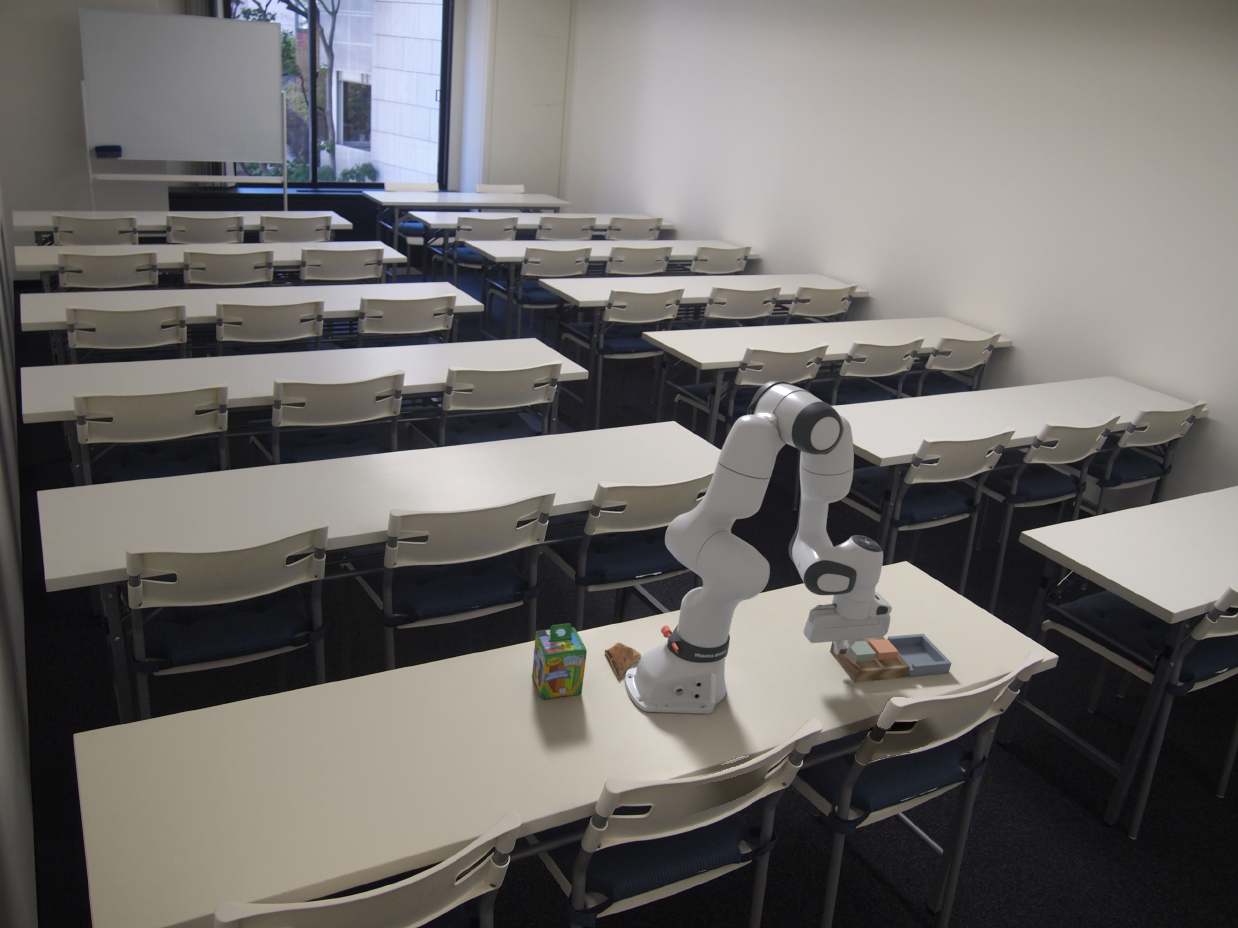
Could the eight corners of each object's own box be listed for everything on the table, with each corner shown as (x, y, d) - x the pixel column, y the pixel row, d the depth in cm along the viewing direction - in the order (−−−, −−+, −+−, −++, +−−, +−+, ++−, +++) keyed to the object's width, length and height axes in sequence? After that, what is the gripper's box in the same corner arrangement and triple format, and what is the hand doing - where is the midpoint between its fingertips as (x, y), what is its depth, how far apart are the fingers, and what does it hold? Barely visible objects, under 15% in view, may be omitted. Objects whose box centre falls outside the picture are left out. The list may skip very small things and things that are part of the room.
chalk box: (541, 700, 193) (546, 642, 187) (530, 674, 201) (535, 617, 195) (583, 694, 196) (589, 637, 190) (570, 668, 204) (576, 612, 198)
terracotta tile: (877, 659, 214) (879, 652, 213) (867, 647, 219) (869, 640, 218) (896, 658, 216) (898, 651, 215) (885, 645, 220) (887, 638, 219)
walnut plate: (854, 682, 210) (857, 671, 209) (829, 651, 221) (832, 641, 220) (907, 677, 214) (910, 666, 213) (880, 647, 225) (883, 636, 224)
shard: (618, 681, 202) (619, 675, 202) (589, 668, 206) (589, 661, 205) (641, 658, 211) (642, 652, 210) (613, 646, 214) (614, 639, 214)
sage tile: (855, 662, 213) (857, 654, 212) (844, 649, 217) (846, 642, 216) (874, 660, 214) (876, 653, 213) (863, 647, 218) (865, 640, 218)
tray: (908, 677, 214) (911, 666, 213) (881, 646, 225) (884, 636, 224) (948, 673, 218) (951, 662, 216) (920, 643, 228) (923, 633, 227)
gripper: (817, 613, 202) (806, 664, 208) (898, 607, 208) (885, 657, 214) (805, 598, 208) (794, 648, 213) (884, 592, 214) (871, 641, 219)
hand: (840, 652), depth 214 cm, fingers closed
